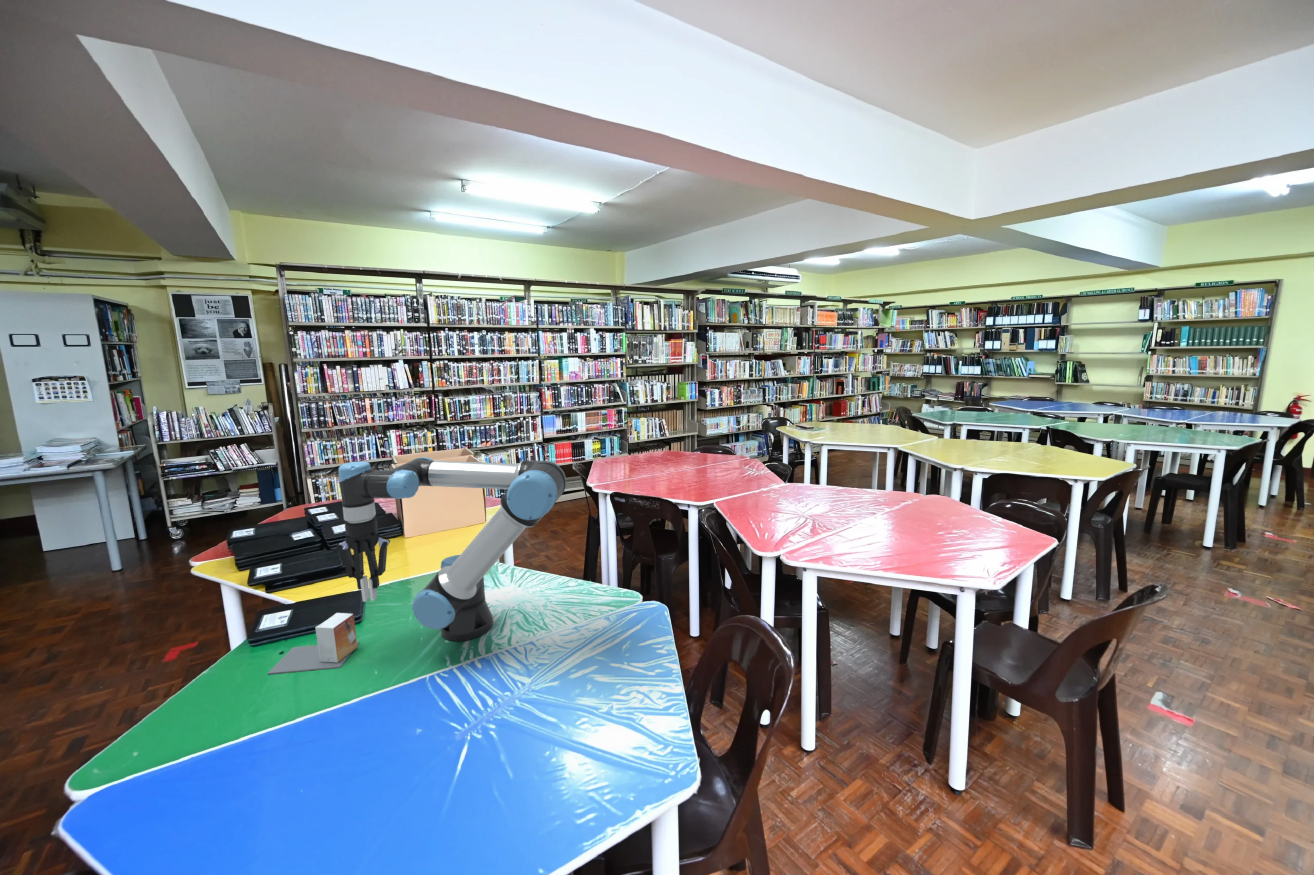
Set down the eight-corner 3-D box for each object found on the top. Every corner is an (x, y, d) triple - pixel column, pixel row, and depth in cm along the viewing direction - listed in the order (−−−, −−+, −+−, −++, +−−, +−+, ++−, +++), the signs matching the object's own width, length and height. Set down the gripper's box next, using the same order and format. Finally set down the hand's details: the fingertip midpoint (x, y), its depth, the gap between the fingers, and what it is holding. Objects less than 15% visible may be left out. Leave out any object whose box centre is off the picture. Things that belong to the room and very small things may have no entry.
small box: (337, 663, 137) (332, 628, 135) (319, 662, 138) (314, 627, 136) (358, 646, 145) (354, 613, 143) (341, 645, 146) (336, 612, 144)
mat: (359, 642, 148) (359, 641, 148) (340, 667, 136) (340, 666, 136) (293, 648, 145) (292, 647, 145) (267, 674, 134) (267, 673, 133)
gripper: (393, 512, 141) (402, 590, 145) (338, 515, 139) (348, 594, 143) (383, 521, 133) (392, 603, 137) (324, 525, 131) (336, 607, 135)
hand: (370, 598), depth 140 cm, fingers closed
